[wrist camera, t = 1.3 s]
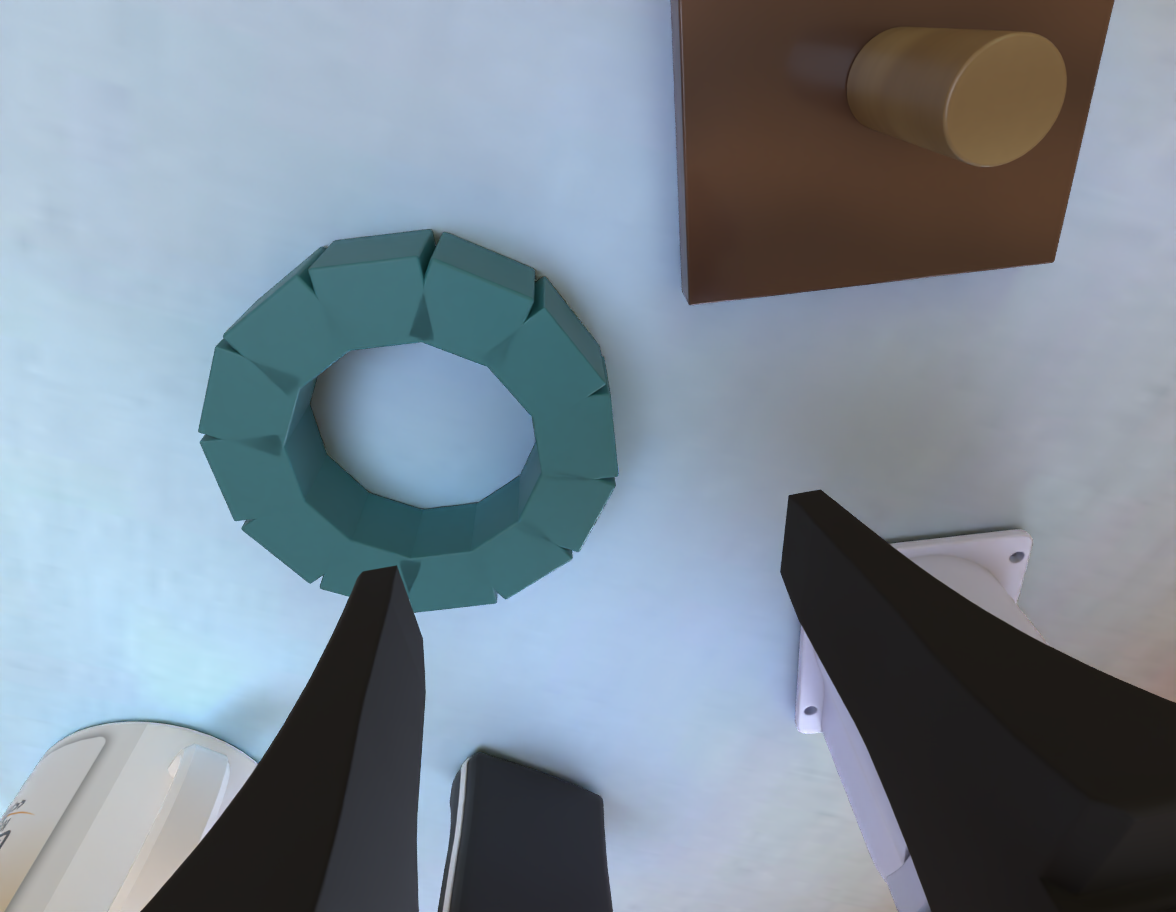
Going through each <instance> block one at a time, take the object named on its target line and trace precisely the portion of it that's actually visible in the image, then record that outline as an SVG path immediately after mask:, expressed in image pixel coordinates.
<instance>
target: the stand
mask: <svg viewBox="0 0 1176 912" xmlns="http://www.w3.org/2000/svg"><path fill="white" fill-rule="evenodd" d="M1113 4H1114V0H671V19H672V45H673V71H674V97H675V123H676V149H677V175H678V201H679V227H680V253H681V279H682V292H683V294H684V296H685V298H686V300H687V302H688V304H689V305H699V304H707V303H716V302H724V301H732V300H741V299H749V298H758V297H766V296H775V295H783V294H792V293H800V292H809V291H817V290H825V289H834V288H842V287H851V286H859V285H868V284H876V283H885V282H893V281H902V280H910V279H919V278H927V277H935V276H944V275H952V274H961V273H969V272H978V271H986V270H995V269H1003V268H1012V267H1020V266H1028V265H1037V264H1045V263H1052V262H1054V260H1055V256H1056V251H1057V247H1058V243H1059V238H1060V234H1061V230H1062V225H1063V221H1064V217H1065V212H1066V208H1067V204H1068V199H1069V195H1070V191H1071V186H1072V182H1073V177H1074V173H1075V169H1076V164H1077V160H1078V156H1079V151H1080V147H1081V143H1082V138H1083V134H1084V130H1085V125H1086V121H1087V117H1088V112H1089V108H1090V104H1091V99H1092V95H1093V91H1094V86H1095V82H1096V77H1097V73H1098V69H1099V64H1100V60H1101V56H1102V51H1103V47H1104V43H1105V38H1106V34H1107V30H1108V25H1109V21H1110V17H1111V12H1112V8H1113Z"/></svg>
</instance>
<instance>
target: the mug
mask: <svg viewBox="0 0 1176 912" xmlns="http://www.w3.org/2000/svg"><path fill="white" fill-rule="evenodd" d="M257 765H258V763H257V762H256V761H254V760H253V759H252V758H250V757H249V756H248V755H246V754H245V753H244V752H242V751H240V750H239V749H237V748H235V747H233V746H232V745H230V744H228V743H226V742H224V741H222V740H219V739H217V738H215V737H213V736H210V735H207V734H204V733H201V732H198V731H195V730H192V729H188V728H184V727H179V726H174V725H169V724H161V723H153V722H118V723H108V724H103V725H98V726H93V727H89V728H86V729H83V730H80V731H77V732H75V733H73V734H71V735H69V736H67V737H65V738H63V739H62V740H60V741H59V742H58V743H56V744H55V745H54V746H52V747H51V748H50V749H49V750H47V752H46V753H45V754H44V755H43V757H42V758H41V759H40V761H39V762H38V764H37V765H36V767H35V768H34V770H33V771H32V772H31V774H30V775H29V777H28V778H27V780H26V781H25V783H24V784H23V786H22V787H21V789H20V790H19V792H18V793H17V795H16V796H15V798H14V799H13V801H12V802H11V804H10V805H9V807H8V808H7V810H6V811H5V813H4V814H3V816H2V817H1V819H0V912H140V911H141V910H142V909H143V908H144V907H145V906H146V905H147V904H148V903H149V901H150V900H151V899H152V898H153V897H154V896H155V894H156V893H157V892H158V891H159V890H160V889H161V887H162V886H163V885H164V884H165V883H166V882H167V880H168V879H169V878H170V877H171V876H172V875H173V873H174V872H175V871H176V870H177V869H178V868H179V866H180V865H181V864H182V863H183V862H184V861H185V859H186V858H187V857H188V856H189V855H190V854H191V852H192V851H193V850H194V849H195V848H196V847H197V845H198V844H199V843H200V842H201V840H202V839H203V838H204V837H205V835H206V834H207V833H208V832H209V830H210V829H211V828H212V826H213V825H214V824H215V823H216V821H217V820H218V819H219V817H220V816H221V815H222V813H223V812H224V811H225V809H226V808H227V807H228V805H229V804H230V803H231V801H232V800H233V798H234V797H235V796H236V794H237V793H238V792H239V790H240V789H241V788H242V786H243V785H244V784H245V782H246V781H247V779H248V778H249V776H250V775H251V774H252V772H253V771H254V769H255V768H256V766H257Z"/></svg>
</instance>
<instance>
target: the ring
mask: <svg viewBox="0 0 1176 912" xmlns="http://www.w3.org/2000/svg"><path fill="white" fill-rule="evenodd" d="M418 342H423V343H426V344H428V345H431V346H434V347H436V348H439V349H442V350H444V351H447V352H450V353H452V354H455V355H458V356H460V357H463V358H466V359H468V360H471V361H474V362H476V363H479V364H482V365H484V366H487V367H488V368H489V369H490V370H491V371H492V372H493V373H494V375H495V376H496V377H497V378H498V379H499V380H500V381H501V382H502V384H503V385H504V386H505V387H506V388H507V389H508V390H509V392H510V393H511V394H512V395H513V396H514V397H515V398H516V399H517V401H518V402H519V403H520V404H521V405H522V406H523V407H524V408H525V410H526V411H527V412H528V413H529V414H530V415H531V416H532V421H533V427H534V433H535V439H536V442H535V445H534V447H533V449H532V451H531V453H530V455H529V457H528V460H527V462H526V464H525V466H524V468H523V470H522V472H521V474H520V476H518V477H517V478H515V479H514V480H512V481H511V482H509V483H508V484H506V485H505V486H503V487H502V488H500V489H499V490H497V491H496V492H494V493H493V494H491V495H490V496H488V497H487V498H485V499H484V500H482V501H480V502H479V503H475V504H466V505H457V506H449V507H440V508H432V509H423V510H422V509H419V508H416V507H412V506H409V505H406V504H403V503H400V502H397V501H393V500H390V499H387V498H384V497H381V496H378V495H374V494H371V493H369V492H367V491H366V490H365V489H364V488H363V487H362V486H361V485H360V484H359V483H358V482H356V481H355V480H354V479H353V478H352V477H351V476H350V475H349V474H348V473H347V472H345V471H344V470H343V469H342V468H341V467H340V466H339V465H338V464H337V463H336V462H334V461H333V460H332V459H331V458H330V457H329V456H328V455H327V453H326V450H325V447H324V445H323V442H322V439H321V436H320V433H319V430H318V427H317V424H316V421H315V418H314V415H313V412H312V409H311V406H310V401H311V397H312V394H313V390H314V387H315V383H316V380H317V376H318V375H319V374H321V373H322V372H323V371H325V370H326V369H327V368H328V367H330V366H331V365H332V364H334V363H335V362H336V361H337V360H339V359H340V358H341V357H342V356H344V355H345V354H346V353H348V352H349V351H351V350H359V349H368V348H376V347H384V346H393V345H401V344H410V343H418ZM198 432H199V433H203V434H206V435H205V436H204V437H203V438H202V440H201V441H200V444H201V447H202V449H203V451H204V453H205V456H206V458H207V460H208V462H209V465H210V467H211V469H212V471H213V474H214V476H215V478H216V480H217V483H218V485H219V487H220V490H221V492H222V494H223V496H224V499H225V501H226V503H227V505H228V508H229V510H230V512H231V514H232V517H233V519H234V521H241V520H246V521H245V523H244V525H243V527H242V530H243V531H244V532H245V533H246V534H248V535H249V536H250V537H252V538H253V539H254V540H255V541H257V542H258V543H259V544H260V545H262V546H263V547H264V548H265V549H267V550H268V551H269V552H270V553H272V554H273V555H274V556H275V557H277V558H278V559H279V560H281V561H282V562H283V563H284V564H286V565H287V566H288V567H289V568H291V569H292V570H293V571H294V572H296V573H297V574H298V575H299V576H301V577H302V578H303V579H304V580H306V581H307V582H308V583H312V582H314V581H315V580H317V579H318V578H320V577H321V576H323V578H322V581H321V584H320V588H321V589H323V590H327V591H331V592H334V593H338V594H341V595H345V596H349V597H350V594H351V592H352V590H353V587H354V585H355V582H356V580H357V578H358V576H359V575H360V574H361V573H362V571H368V570H373V569H379V568H384V567H390V566H396V565H397V567H398V570H399V573H400V575H401V578H402V581H403V584H404V587H405V590H406V592H407V595H408V598H409V600H410V603H411V606H412V609H413V612H414V613H416V612H425V611H434V610H442V609H451V608H460V607H469V606H477V605H486V604H495V603H497V594H498V593H499V594H500V595H501V596H502V597H503V598H504V599H508V598H510V597H511V596H513V595H514V594H516V593H518V592H519V591H521V590H523V589H524V588H526V587H528V586H529V585H531V584H533V583H534V582H536V581H538V580H539V579H541V578H543V577H544V576H546V575H547V574H549V573H551V572H552V571H554V570H556V569H557V568H559V567H561V566H562V565H564V564H566V563H567V562H569V561H571V560H572V558H573V557H572V550H573V551H576V552H579V551H580V550H581V548H582V547H583V545H584V543H585V541H586V539H587V538H588V536H589V534H590V532H591V530H592V528H593V527H594V525H595V523H596V521H597V519H598V517H599V516H600V514H601V512H602V510H603V508H604V507H605V505H606V503H607V501H608V499H609V497H610V496H611V494H612V492H613V490H614V488H615V486H616V484H615V477H617V476H618V464H617V454H616V444H615V434H614V424H613V413H612V403H611V394H610V388H609V382H608V377H607V371H606V365H605V360H604V357H603V356H601V351H600V346H599V345H598V343H597V342H596V341H595V339H594V338H593V337H592V336H591V334H590V333H589V332H588V331H587V329H586V328H585V327H584V325H583V324H582V323H581V322H580V320H579V319H578V318H577V316H576V315H575V314H574V313H573V311H572V310H571V309H570V307H569V306H568V305H567V304H566V302H565V301H564V300H563V298H562V297H561V296H560V295H559V293H558V292H557V291H556V289H555V288H554V287H553V286H552V284H551V283H550V282H549V280H548V279H547V278H546V277H545V276H544V277H542V278H541V279H539V280H538V281H537V282H535V270H534V269H533V268H531V267H529V266H526V265H524V264H521V263H519V262H517V261H514V260H512V259H509V258H507V257H505V256H502V255H500V254H497V253H495V252H493V251H490V250H488V249H485V248H483V247H481V246H478V245H476V244H473V243H471V242H469V241H466V240H464V239H461V238H459V237H457V236H454V235H452V234H449V233H447V232H443V233H442V235H441V237H440V239H439V241H438V243H437V246H436V245H435V240H434V236H433V231H432V230H430V229H427V230H419V231H410V232H402V233H394V234H385V235H377V236H369V237H360V238H352V239H344V240H335V241H333V243H332V244H331V245H330V246H329V247H328V248H327V249H326V248H325V247H320V248H319V249H318V250H316V251H315V252H314V253H313V254H312V255H310V256H309V257H308V258H307V259H306V260H304V261H303V262H302V263H301V264H300V265H299V266H297V267H296V268H295V269H294V270H293V271H291V272H290V273H289V274H288V275H287V276H286V277H284V278H283V279H282V280H281V281H280V282H278V283H277V284H276V285H275V286H274V287H273V288H271V289H270V290H269V291H268V292H267V293H265V294H264V295H263V296H262V297H261V298H260V299H258V300H257V301H256V302H255V303H254V304H253V305H252V306H251V307H250V308H249V309H248V310H247V311H246V312H245V313H244V314H243V315H242V316H241V317H240V318H239V319H238V320H237V321H236V322H235V323H234V324H233V325H232V326H231V327H230V328H229V329H228V330H227V331H226V332H225V333H224V335H223V339H222V340H221V342H220V343H219V344H218V345H217V346H216V347H215V351H214V356H213V361H212V366H211V371H210V376H209V380H208V385H207V390H206V395H205V400H204V405H203V410H202V415H201V420H200V425H199V429H198Z"/></svg>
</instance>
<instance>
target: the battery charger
mask: <svg viewBox="0 0 1176 912" xmlns="http://www.w3.org/2000/svg"><path fill="white" fill-rule="evenodd" d="M450 808H451V830H450V839H449V847H448V853H447V858H446V864H445V869H444V875H443V881H442V887H441V894H440V900H439V906H438V912H613V909H612V900H611V892H610V884H609V876H608V867H607V856H606V842H605V829H604V808H603V799H602V797H600V796H599V795H597V794H595V793H592V792H590V791H588V790H585V789H583V788H581V787H578V786H576V785H573V784H571V783H568V782H566V781H563V780H560V779H558V778H555V777H553V776H550V775H547V774H545V773H542V772H539V771H536V770H533V769H530V768H527V767H525V766H522V765H519V764H516V763H513V762H510V761H507V760H503V759H500V758H497V757H493V756H490V755H486V754H483V753H476V754H475V755H473V756H472V757H469V758H468V759H467V760H466V761H465V762H464V763H463V764H462V768H461V770H460V771H459V772H458V773H457V775H456V777H455V779H454V781H453V784H452V789H451V797H450Z"/></svg>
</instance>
